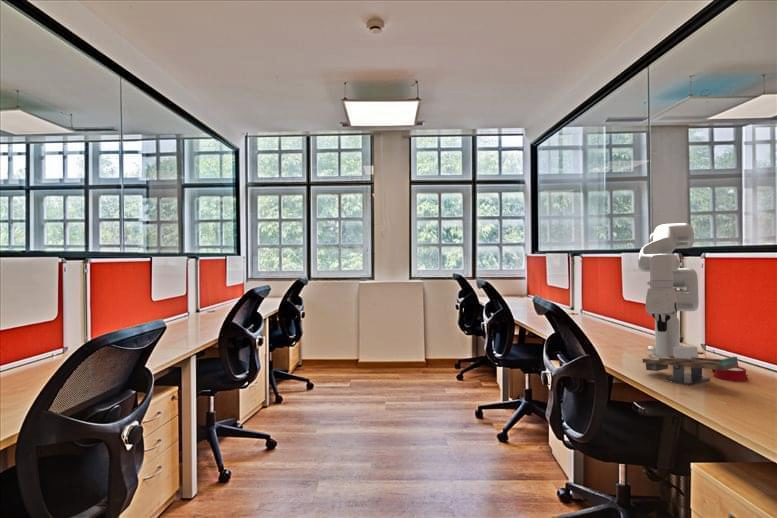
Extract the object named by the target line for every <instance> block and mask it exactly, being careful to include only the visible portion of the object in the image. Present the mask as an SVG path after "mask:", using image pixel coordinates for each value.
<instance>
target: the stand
mask: <svg viewBox="0 0 777 518" xmlns="http://www.w3.org/2000/svg"><path fill="white" fill-rule="evenodd" d="M666 380H668V381H667V382H669V381H672V382H671V383H674V382H675V384H678V383H679V385H682V384H683V385H682V386H687V385H688V386H687V387H690V385H691V386H694V384H695V385H697V384H702V383H704V382H708V381H711V378H710V377H708V376H703V368H693V367H690V372H685V367H684V366H682V365H677V364H674V365H673V366H672V376H667V377H665V381H666Z"/></svg>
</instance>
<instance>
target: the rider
mask: <svg viewBox="0 0 777 518" xmlns="http://www.w3.org/2000/svg"><path fill="white" fill-rule="evenodd" d="M698 352H699V351H698V346H689V345H688V346H687V345H686V346H685V345H680V346H677V347H673V354H674V359H684V360H696V361H699V358H700V356H699V353H698Z"/></svg>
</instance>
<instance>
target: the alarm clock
mask: <svg viewBox="0 0 777 518" xmlns="http://www.w3.org/2000/svg"><path fill="white" fill-rule="evenodd" d="M710 370H711V372H712V373H713V377H715V378H716V379H721V380H725V381H731V382H734V381H735V382H736V383H737V382H747V381H749V378H748V377H749V374H747V369H746V368H744V367H740V366H739V365H738V367H736V368H732V369H728V370H713V369H710ZM735 382H734V383H735Z"/></svg>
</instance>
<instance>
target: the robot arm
mask: <svg viewBox="0 0 777 518" xmlns="http://www.w3.org/2000/svg"><path fill="white" fill-rule="evenodd" d="M694 232H695V231H694V229H693V226H692V225H690V224H689V223H687V222H681V223H679V222H678V223H665V224H663V223H662V224H660V225H658V226H656V228H655V229H654V231H653V232H652V233H651V234H649V243H647V244H645V245H644V246H643V247H641V249H640V251H639V254H638V261H637V264H638V265H637V266H638V268H639V270H640V271H641V272H644V273H649V275H650V278H649V279H650V280H649V281H648V282H647V283H646V284H647V285H648V286H649V287H648V288H647V291H646V297H645V298H646V299H645V311H646V314H647V315H648V316H649V317H650V316H651V317H652V318H653V319H654V345H655V346H649V345H648V346H647V351H648V352H652V353H651V356H650V357H654V356H664V357H669V356H670V355H672V356H674V354H673V347H677V346H681V343H680V341H681V337H680V335H681V334H680V329H681V328H680V319H679V318H678V312H695V311H697V309H698V308H699V300H700V299H699V280H698V279H699V278H698V273H697V272H696V270H695V269H693V268H690V267H680V263H681V262H680V258H679V257H678V256H677V255H676V254H674V253H673V252H674V251H675V249H690V248H692V247H693V246H694V244H695V243H694V242H695V233H694Z"/></svg>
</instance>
